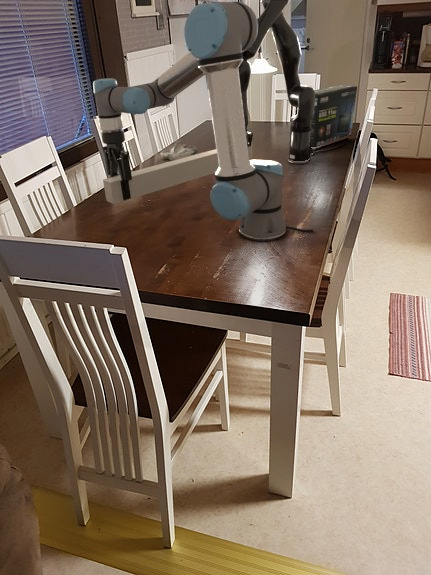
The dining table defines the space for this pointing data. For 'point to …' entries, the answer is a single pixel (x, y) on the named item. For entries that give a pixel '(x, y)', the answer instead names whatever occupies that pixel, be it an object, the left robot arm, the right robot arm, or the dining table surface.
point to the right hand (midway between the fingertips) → (239, 155)
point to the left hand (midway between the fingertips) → (122, 197)
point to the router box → (332, 114)
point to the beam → (164, 175)
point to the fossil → (179, 152)
